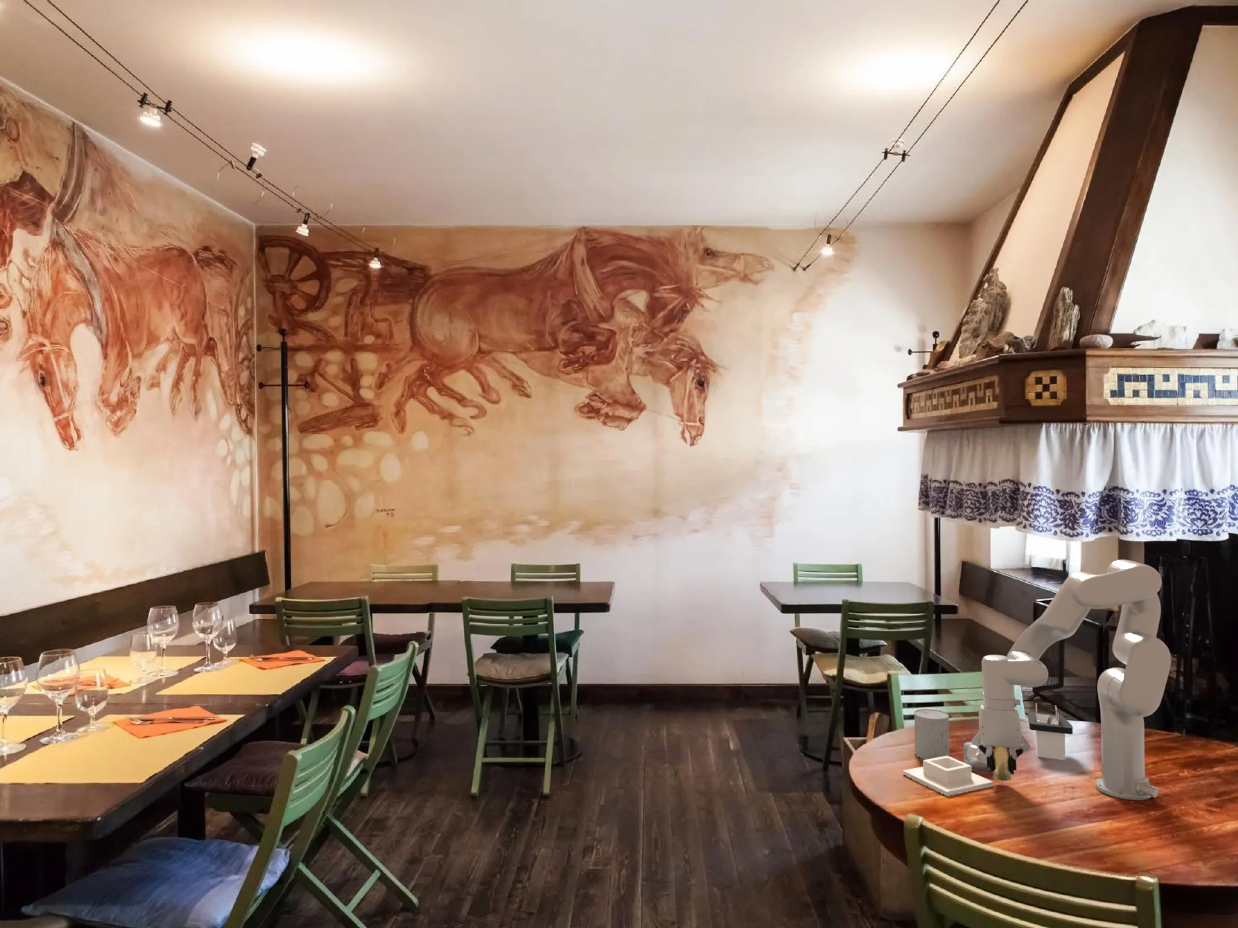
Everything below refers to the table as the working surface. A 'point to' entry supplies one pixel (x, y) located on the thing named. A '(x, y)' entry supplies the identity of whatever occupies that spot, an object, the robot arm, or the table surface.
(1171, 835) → the table surface
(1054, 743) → the black-topped pedestal
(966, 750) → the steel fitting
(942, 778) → the flange socket
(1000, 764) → the cylinder
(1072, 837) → the table surface
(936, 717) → the grey cylinder
